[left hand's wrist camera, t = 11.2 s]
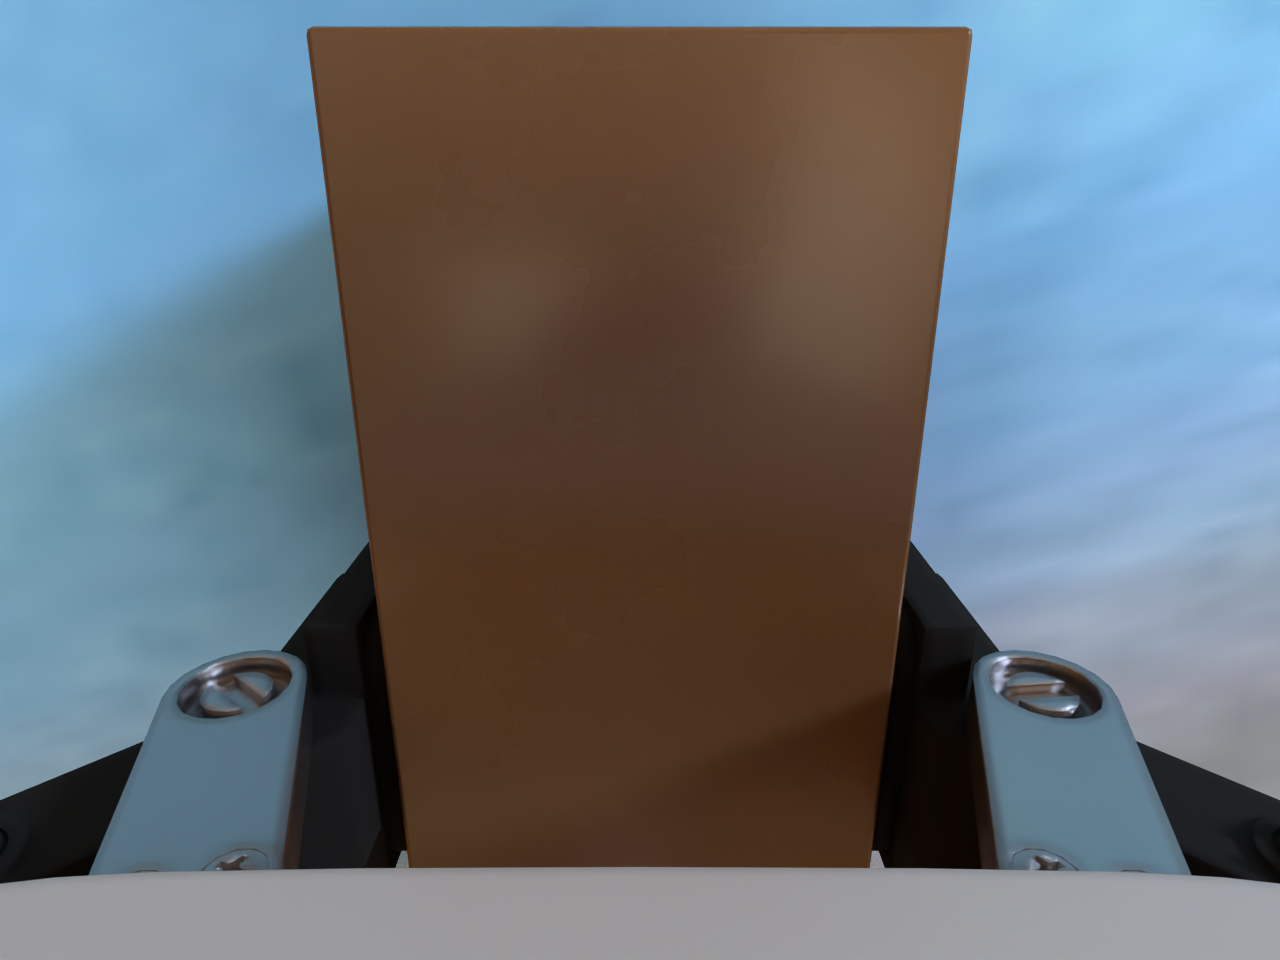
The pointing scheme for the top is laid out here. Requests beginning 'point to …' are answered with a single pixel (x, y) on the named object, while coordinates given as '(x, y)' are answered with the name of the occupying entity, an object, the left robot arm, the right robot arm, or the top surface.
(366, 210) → the bar
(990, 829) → the left robot arm
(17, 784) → the top surface
